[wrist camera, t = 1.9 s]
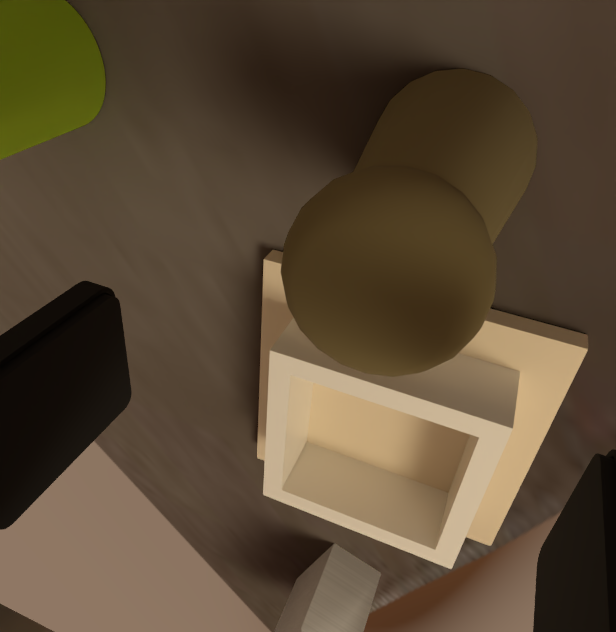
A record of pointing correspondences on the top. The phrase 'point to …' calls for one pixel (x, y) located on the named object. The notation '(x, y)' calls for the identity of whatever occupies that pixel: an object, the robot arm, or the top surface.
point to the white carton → (331, 595)
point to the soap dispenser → (46, 73)
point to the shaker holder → (408, 429)
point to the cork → (412, 227)
